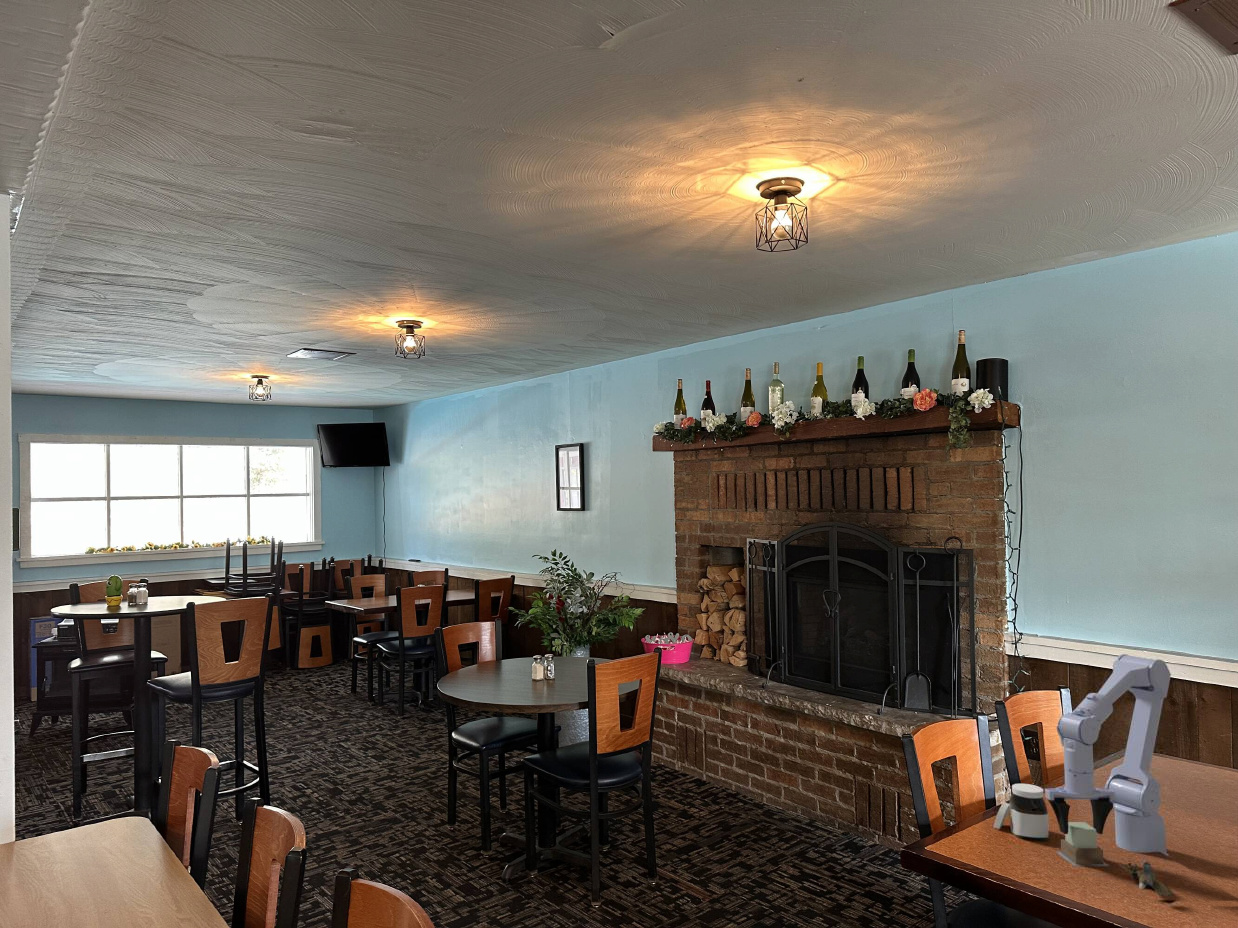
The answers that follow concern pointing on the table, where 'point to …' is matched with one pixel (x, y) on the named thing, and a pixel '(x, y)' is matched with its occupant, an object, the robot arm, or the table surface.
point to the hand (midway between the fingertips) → (1081, 832)
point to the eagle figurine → (1148, 879)
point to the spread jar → (1025, 813)
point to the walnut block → (1082, 854)
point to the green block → (1081, 835)
